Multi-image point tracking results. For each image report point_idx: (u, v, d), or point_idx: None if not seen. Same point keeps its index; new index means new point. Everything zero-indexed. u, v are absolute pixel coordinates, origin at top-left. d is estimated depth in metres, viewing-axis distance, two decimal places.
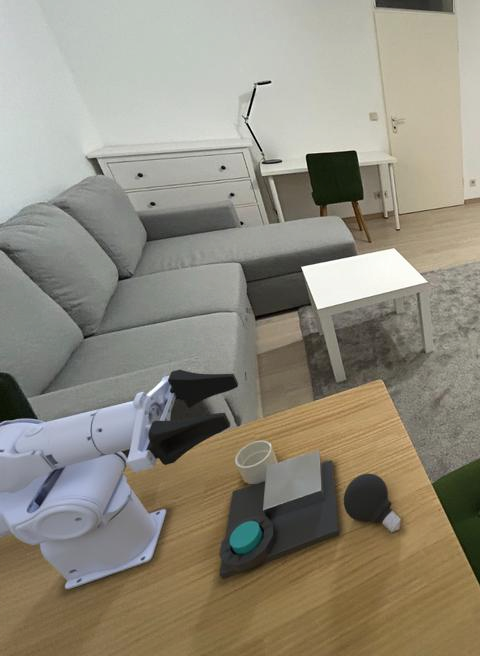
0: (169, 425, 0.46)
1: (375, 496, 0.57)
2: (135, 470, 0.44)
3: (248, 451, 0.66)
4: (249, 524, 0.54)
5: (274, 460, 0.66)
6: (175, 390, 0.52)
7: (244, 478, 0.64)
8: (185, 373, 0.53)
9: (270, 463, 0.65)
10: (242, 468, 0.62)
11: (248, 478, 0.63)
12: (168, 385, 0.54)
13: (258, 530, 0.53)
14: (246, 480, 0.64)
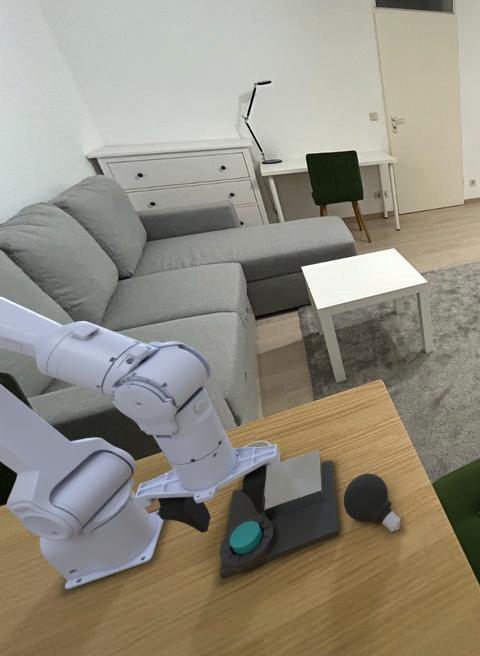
0: (180, 517, 0.46)
1: (375, 496, 0.57)
2: None
3: None
4: (249, 524, 0.54)
5: None
6: (244, 478, 0.48)
7: None
8: (258, 490, 0.48)
9: None
10: None
11: None
12: None
13: (258, 530, 0.53)
14: None
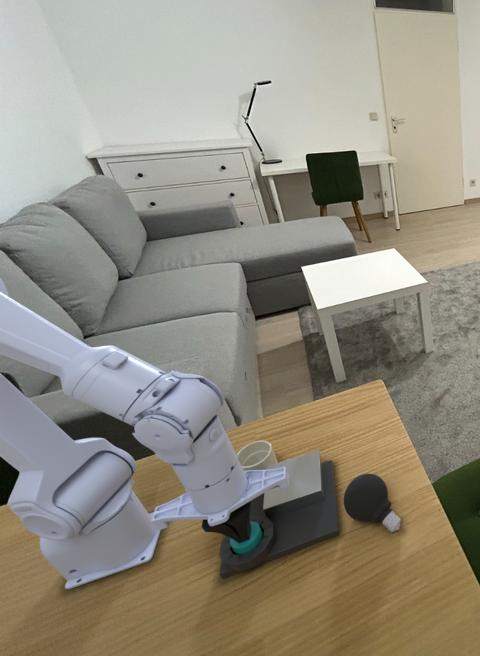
0: (221, 529, 0.49)
1: (375, 496, 0.57)
2: None
3: (248, 451, 0.66)
4: None
5: (274, 460, 0.66)
6: None
7: None
8: (243, 520, 0.49)
9: (270, 463, 0.65)
10: None
11: None
12: None
13: (258, 531, 0.53)
14: None
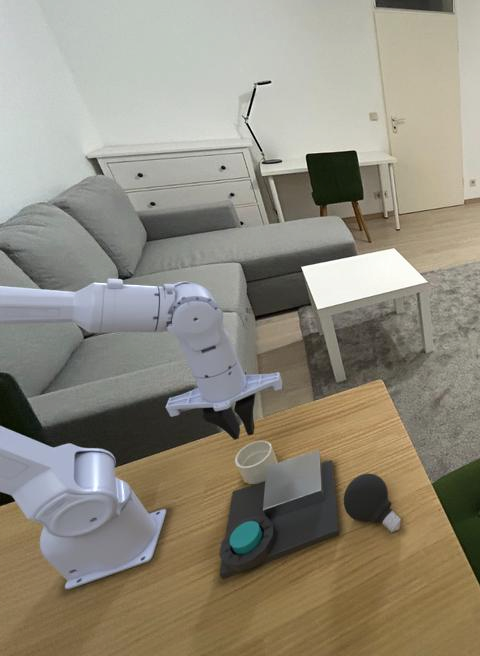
0: (219, 421, 0.57)
1: (375, 496, 0.57)
2: None
3: (248, 451, 0.66)
4: (249, 524, 0.54)
5: (274, 460, 0.66)
6: (236, 402, 0.58)
7: (244, 478, 0.64)
8: (248, 412, 0.58)
9: (270, 463, 0.65)
10: (242, 468, 0.62)
11: (248, 478, 0.63)
12: None
13: (258, 530, 0.53)
14: (246, 480, 0.64)
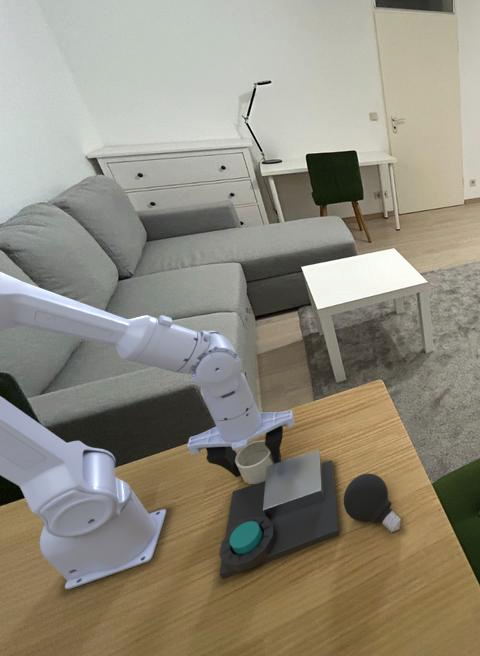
0: (222, 462, 0.60)
1: (375, 496, 0.57)
2: None
3: (248, 451, 0.66)
4: (249, 524, 0.54)
5: None
6: (266, 435, 0.63)
7: (244, 478, 0.64)
8: (277, 445, 0.63)
9: (270, 463, 0.65)
10: (242, 468, 0.62)
11: (248, 478, 0.63)
12: None
13: (258, 530, 0.53)
14: (246, 480, 0.64)
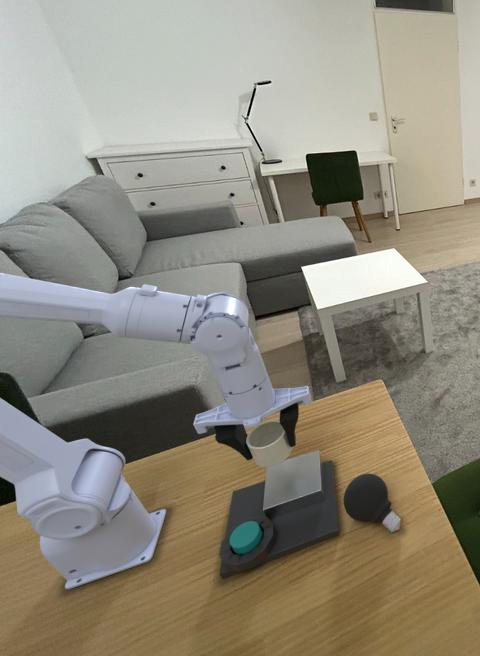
0: (232, 442, 0.54)
1: (375, 496, 0.57)
2: None
3: (260, 431, 0.60)
4: (249, 524, 0.54)
5: None
6: (280, 413, 0.57)
7: (256, 461, 0.58)
8: (292, 423, 0.57)
9: (285, 444, 0.59)
10: (254, 449, 0.56)
11: (261, 461, 0.57)
12: None
13: (258, 530, 0.53)
14: (258, 463, 0.58)
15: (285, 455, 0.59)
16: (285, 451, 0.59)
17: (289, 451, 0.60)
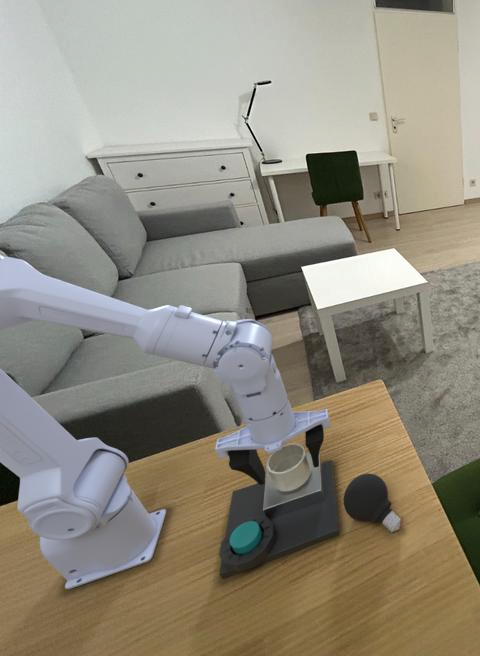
0: (245, 468, 0.54)
1: (375, 496, 0.57)
2: (217, 442, 0.54)
3: (279, 455, 0.60)
4: (249, 524, 0.54)
5: (308, 465, 0.60)
6: (305, 435, 0.57)
7: (276, 485, 0.58)
8: (317, 445, 0.57)
9: (304, 468, 0.59)
10: (275, 474, 0.56)
11: (281, 485, 0.58)
12: None
13: (258, 530, 0.53)
14: (278, 487, 0.58)
15: (304, 479, 0.59)
16: (304, 475, 0.59)
17: (308, 474, 0.60)
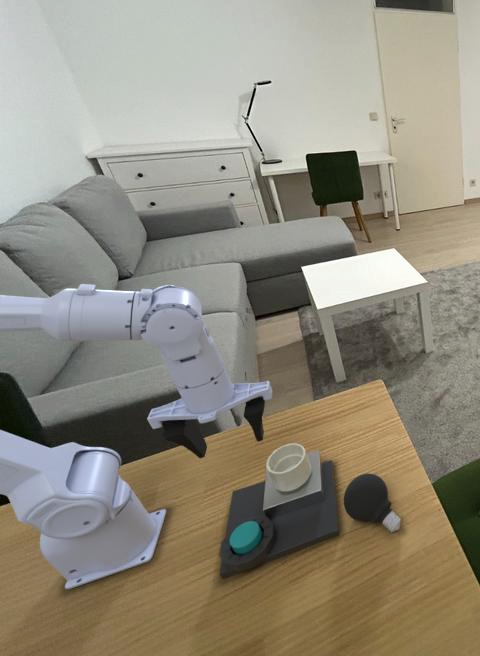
0: (180, 439, 0.53)
1: (375, 496, 0.57)
2: (151, 412, 0.53)
3: (279, 455, 0.60)
4: (249, 524, 0.54)
5: (308, 465, 0.60)
6: (245, 407, 0.56)
7: (276, 485, 0.58)
8: (257, 417, 0.56)
9: (304, 468, 0.59)
10: (275, 474, 0.56)
11: (281, 485, 0.58)
12: None
13: (258, 530, 0.53)
14: (278, 487, 0.58)
15: (304, 479, 0.59)
16: (304, 475, 0.59)
17: (308, 474, 0.60)
